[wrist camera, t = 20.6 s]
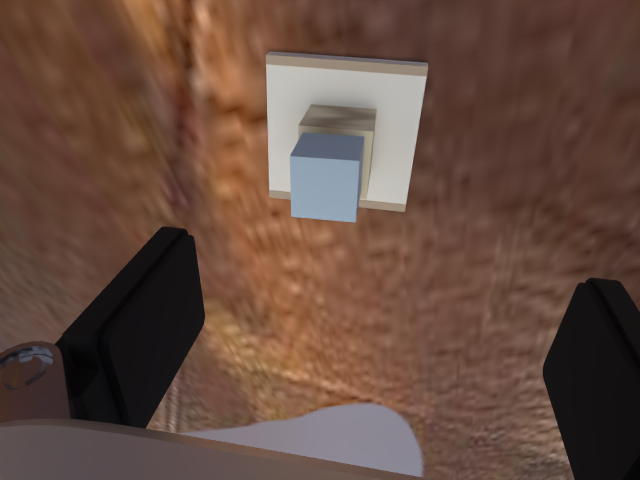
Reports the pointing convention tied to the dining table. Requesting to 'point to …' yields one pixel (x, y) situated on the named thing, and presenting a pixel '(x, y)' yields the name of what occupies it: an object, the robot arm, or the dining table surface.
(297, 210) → the blue cube
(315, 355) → the dining table surface
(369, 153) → the maple cube
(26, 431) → the robot arm
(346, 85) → the base board
